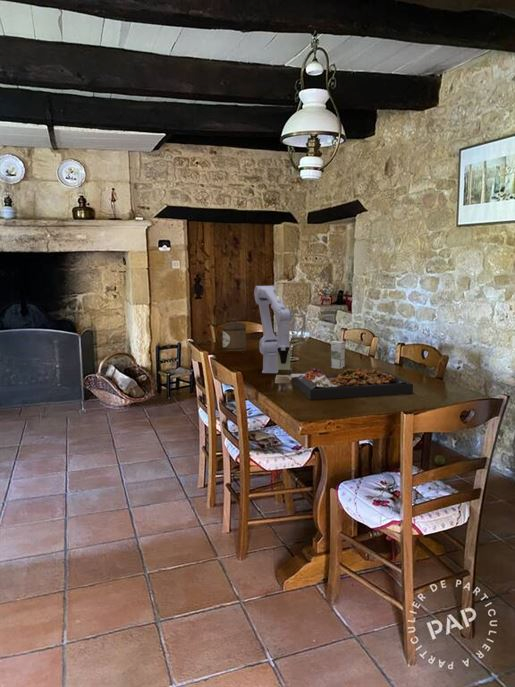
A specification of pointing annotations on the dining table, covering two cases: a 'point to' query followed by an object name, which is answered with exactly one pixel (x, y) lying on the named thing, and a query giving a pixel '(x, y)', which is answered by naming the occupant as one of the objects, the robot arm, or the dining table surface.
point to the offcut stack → (282, 379)
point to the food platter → (351, 384)
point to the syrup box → (337, 354)
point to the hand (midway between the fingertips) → (283, 363)
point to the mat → (296, 375)
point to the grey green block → (283, 366)
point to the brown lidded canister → (234, 336)
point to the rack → (284, 375)
